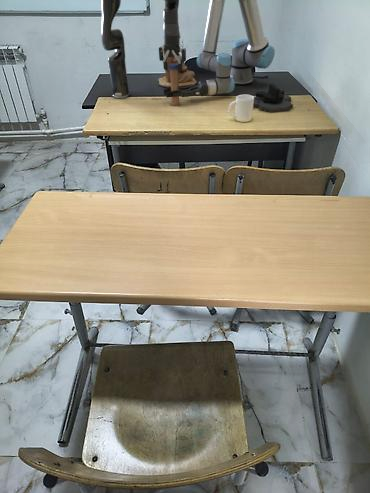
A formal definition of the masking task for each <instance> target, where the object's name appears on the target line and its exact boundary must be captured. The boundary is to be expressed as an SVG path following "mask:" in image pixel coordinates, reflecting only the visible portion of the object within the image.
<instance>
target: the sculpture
mask: <svg viewBox="0 0 370 493" xmlns="http://www.w3.org/2000/svg"><path fill="white" fill-rule="evenodd" d="M179 39H180V40H181V33H179ZM164 46H165V45H164V44H163V45H162V47H164ZM165 54H166V52H165V51H164V52H163V56H165ZM180 56H181V59H182V54H180ZM171 63H177V64H179V63H178V61H177V60H176V58H174V57H169V58H168V59H167V67H168V69H167V70H165V69H164V71H165V73H164V75H165V76H163V77H159V78H158V79H157V80H158V84H159V86H161V87H163V88H166V89H170V88H171V81H170V69H169V64H171ZM195 76H196V74H195V72H194V71H192V70H188V66H187V65H186V64H185V62H184V63H182V70H181V71H180V72H179V71H178V81H179V86H182V85H188V84H192V85H196V83H198V81H197V79H195Z"/></svg>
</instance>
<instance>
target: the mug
mask: <svg viewBox="0 0 370 493" xmlns="http://www.w3.org/2000/svg"><path fill="white" fill-rule="evenodd" d="M254 97H255V96H253V95H251V94H239V95H236V97H235V100H233V101H231V102H230V103H229V105H228V108H227V112H228V114H229V116H230V117H234V119H235V121H237V122H241V123H248V122H250V121H252V120H253V113H254V107H253V103H254ZM233 106H235V110H234V113H233V112H232V107H233Z"/></svg>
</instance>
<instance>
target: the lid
mask: <svg viewBox="0 0 370 493" xmlns="http://www.w3.org/2000/svg"><path fill="white" fill-rule="evenodd" d="M169 69H178V64H177V63H171V64H169Z"/></svg>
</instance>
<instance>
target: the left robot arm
mask: <svg viewBox="0 0 370 493" xmlns="http://www.w3.org/2000/svg"><path fill="white" fill-rule="evenodd" d="M163 1H164V8H163V11H162V14H163V45H165V46H164V47H163V45H162V46H160V47H158V58H159V61H160V62H162V66H163V70H164V71H165V70H167V69H168V67H167V59H168V58H169V57H174V58H176V60H177V61H178V63H179V64H178V71H179V72H180V71H181V70H182V63H185V62H187V48H186V47H184V48H181V47H180V46H181V44H180V42H181V41H180V40H181V38H180V39H179V33H180V25H179V5H180V0H163ZM121 4H122V0H101V35H100V36H101V44H102V48H103V49H104V50H105V51H114V53H113V54H112V55H110V56H109V57H108V58H107V64H108V70H109V75H110V83H111V89H112V97H113V98H114V99H125V98H128V97H130V90H129V89H130V88H129V82H128V81H129V79H128V74H127V66H126V65H127V64H126V48H125V38H124V33H123V32H122V30H121V29H119V28H114V29H112V27H113V26H112V25H113V23H114V20H115V18H116V16H117V14H118V12H119V10H120V7H121ZM180 34H181V33H180ZM164 51H165V52H166V54H165V56H164ZM180 55H181V56H182V59H181V56H180Z"/></svg>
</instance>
